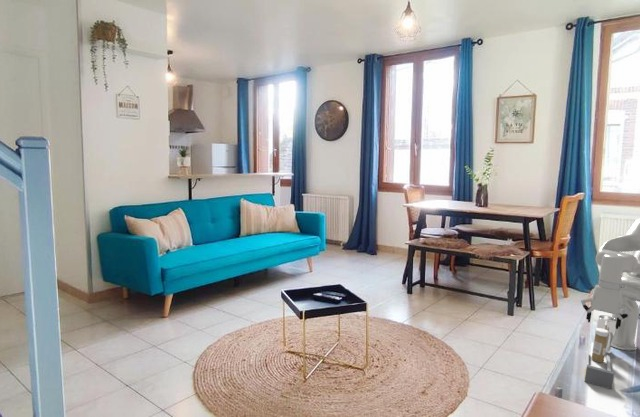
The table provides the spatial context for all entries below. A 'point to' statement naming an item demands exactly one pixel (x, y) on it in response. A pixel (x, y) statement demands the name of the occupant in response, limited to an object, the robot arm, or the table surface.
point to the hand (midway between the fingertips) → (602, 324)
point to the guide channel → (598, 373)
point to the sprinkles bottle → (599, 345)
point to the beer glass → (609, 325)
